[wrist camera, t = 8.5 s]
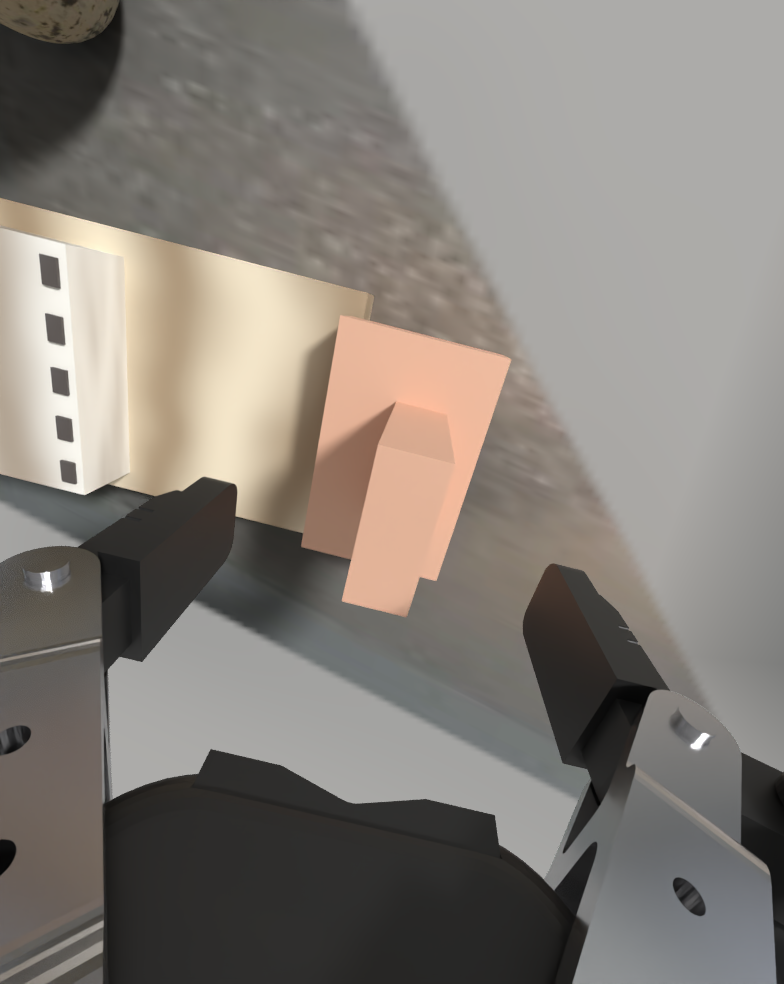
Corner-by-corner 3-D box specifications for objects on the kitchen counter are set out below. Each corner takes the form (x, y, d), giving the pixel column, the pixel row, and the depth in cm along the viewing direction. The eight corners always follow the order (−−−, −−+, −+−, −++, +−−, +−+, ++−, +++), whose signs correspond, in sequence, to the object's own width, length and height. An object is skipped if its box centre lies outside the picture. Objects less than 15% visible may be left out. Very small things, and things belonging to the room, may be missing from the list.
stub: (314, 523, 21) (246, 641, 13) (352, 316, 17) (285, 310, 9) (435, 553, 21) (438, 689, 13) (500, 354, 17) (559, 381, 9)
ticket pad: (24, 443, 23) (-80, 474, 18) (-10, 196, 18) (-160, 154, 14) (330, 520, 23) (304, 571, 19) (374, 296, 19) (355, 287, 14)
